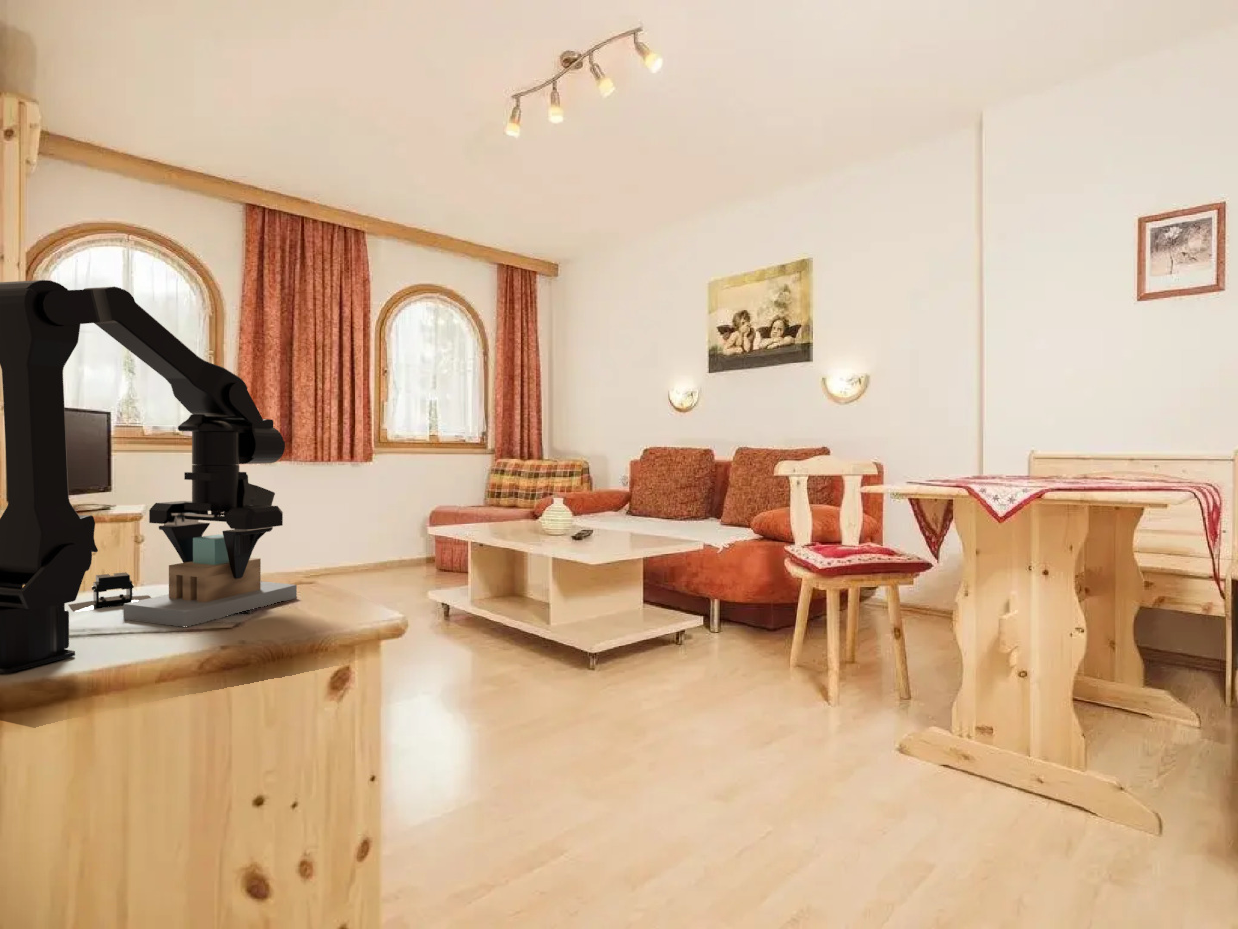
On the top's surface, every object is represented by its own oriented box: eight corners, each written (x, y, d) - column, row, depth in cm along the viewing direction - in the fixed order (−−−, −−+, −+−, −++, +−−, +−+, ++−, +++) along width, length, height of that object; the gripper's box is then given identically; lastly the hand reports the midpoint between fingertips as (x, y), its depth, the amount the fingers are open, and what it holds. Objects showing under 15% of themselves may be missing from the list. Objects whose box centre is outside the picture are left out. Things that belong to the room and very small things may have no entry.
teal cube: (214, 565, 93) (214, 539, 93) (192, 563, 94) (193, 537, 94) (239, 560, 97) (239, 536, 97) (218, 558, 98) (218, 534, 98)
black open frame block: (159, 596, 105) (159, 567, 104) (169, 605, 99) (169, 574, 99) (54, 608, 96) (54, 576, 96) (59, 618, 91) (59, 584, 91)
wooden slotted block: (204, 602, 90) (204, 568, 90) (168, 598, 92) (168, 565, 92) (260, 589, 99) (260, 558, 99) (226, 585, 101) (226, 555, 101)
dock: (185, 627, 85) (185, 611, 85) (123, 619, 89) (123, 603, 89) (296, 598, 102) (296, 584, 102) (240, 591, 106) (240, 579, 106)
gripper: (312, 465, 100) (312, 571, 100) (216, 462, 106) (216, 562, 106) (248, 467, 89) (248, 585, 90) (146, 463, 95) (146, 574, 96)
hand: (215, 576), depth 95 cm, fingers open, 8 cm apart
